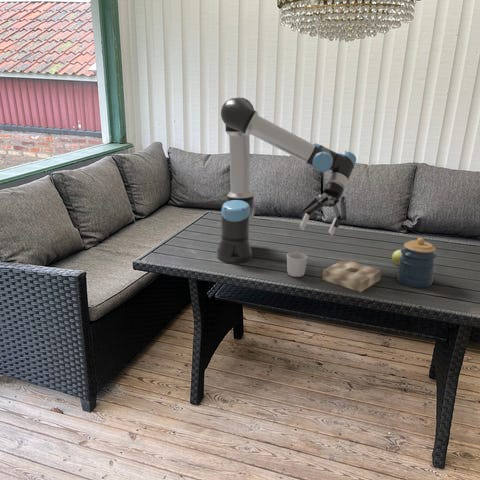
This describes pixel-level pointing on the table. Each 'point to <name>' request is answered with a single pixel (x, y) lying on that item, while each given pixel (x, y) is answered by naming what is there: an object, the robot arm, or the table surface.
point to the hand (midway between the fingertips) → (315, 231)
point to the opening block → (352, 275)
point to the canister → (417, 264)
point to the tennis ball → (396, 256)
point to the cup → (296, 264)
